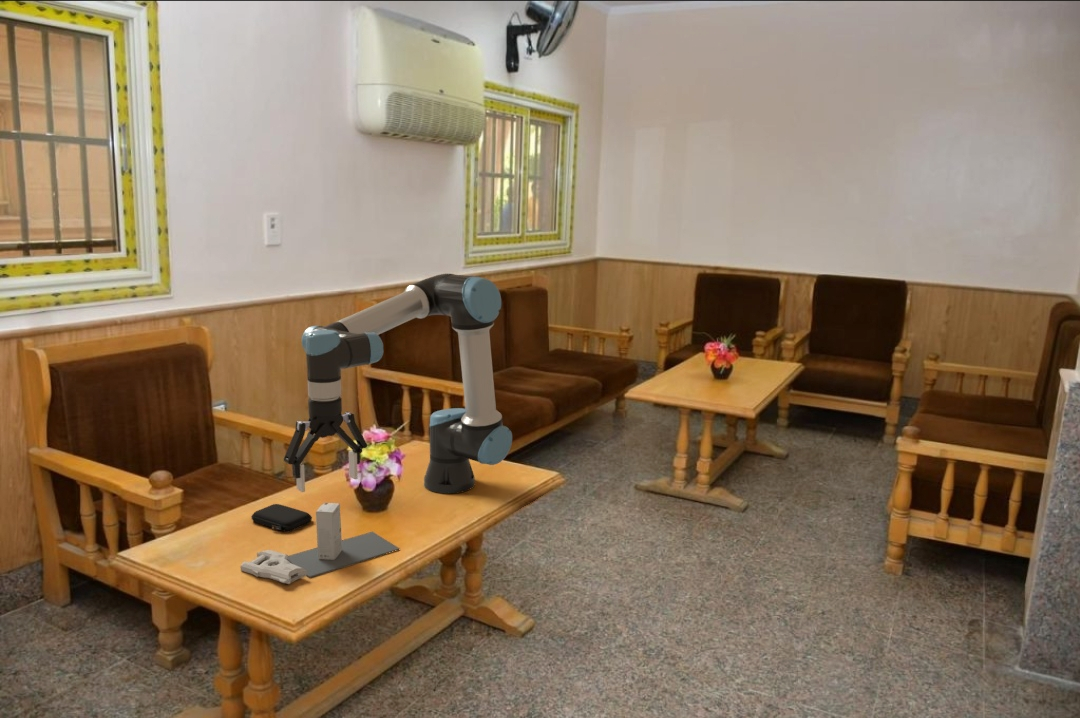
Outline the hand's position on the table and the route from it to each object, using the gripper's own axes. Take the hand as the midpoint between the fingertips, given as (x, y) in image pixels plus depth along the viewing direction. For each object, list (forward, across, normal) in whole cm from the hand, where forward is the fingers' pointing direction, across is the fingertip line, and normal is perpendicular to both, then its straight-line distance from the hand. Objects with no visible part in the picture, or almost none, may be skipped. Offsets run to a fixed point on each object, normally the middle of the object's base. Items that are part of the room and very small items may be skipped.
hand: (327, 484), depth 199 cm
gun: (+19, +14, -1) cm, 23 cm away
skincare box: (+18, 0, 0) cm, 18 cm away
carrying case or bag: (+19, +1, -26) cm, 33 cm away
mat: (+18, -3, +1) cm, 19 cm away
